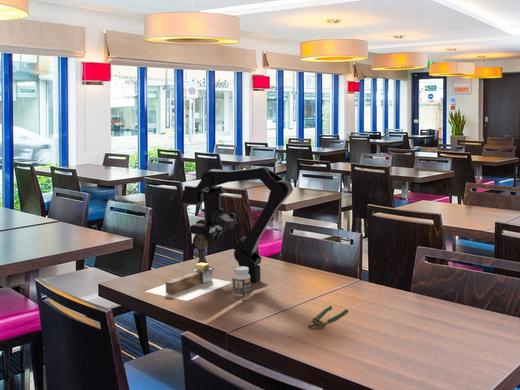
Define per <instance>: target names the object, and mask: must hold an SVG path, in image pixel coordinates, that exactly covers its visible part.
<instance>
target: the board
mask: <svg viewBox="0 0 520 390" xmlns="http://www.w3.org/2000/svg"><path fill="white" fill-rule="evenodd" d="M230 284H233V281H227V280H223V279H222V280H221V279H219V278H218V279H217V278H213V277H212V281H211V282H209V283H206V284H197V285H195V286H192V287H189V288H187V289H184V290H181V291H179V292H176V293H173V294H168V293H166V283H164V284H162V285H159V286H156V287H154V288H151V289H148V290H146V291H144V293H147V294H154V295H158V296H162V297H167V298H171V299H175V300H180V301H184V302H185V301H186V302H188V301H190V300H192V299H195V298H198V297H200V296H202V295H205V294H208V293H211V292H213V291H214V290H217V289H220V288H222V287H224V286H227V285H230Z"/></svg>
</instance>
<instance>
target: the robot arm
mask: <svg viewBox="0 0 520 390" xmlns="http://www.w3.org/2000/svg"><path fill="white" fill-rule="evenodd" d="M200 179H201V180H200V181H199V183H198V184H197V185H184V186H183V191H182V195H181V202H182V205H184V206H185V205H186V206H201V205H202V203H203V208H201V213H203V219H204V220H203V221H202V224H196V223H195V224H191V225H190V226H189V227H188V228H189V234H193V235H196V234H198V235H203V236H204V237H205V239H206V241H207V243H208V246H209V248H210V250H211V251H216V247H217V245H218V241H219V238H220V236H221V234H223V232H225V231H227V230H229V229H233V228H234V227H235V225H236V224H237V223H238V221H237V220H238V217H237V214H236V213H235V212H232V213H230V214H228V213H227V214H226V213H225V210H224V208H222V207H221V195H223V194H225V193H227V190H225V189H224V188H223V186H220V185H223V184H226V183H232V182H233V183H234V182H243V181H244V182H245V181H255V180H260V181H261V182H262V183H263V185H264V186H265V187H266V188H267V189H268V190H269V191H270V192H269V194H268V197H267V202H266V204H265V206H264V208H263V209H262V210H261V213H260V214H259V216H258V218H257V220H256V221H255V223H254V225H253V226H252V228H251V230H250V231H249V233H248V235H247V236H245V235H244V236H242V237H241V238H240V239H239V240H238V242H237V245H236V246H235V247H234V248H233V250H234V252H233V258H234V259H235V261H236V262H237V263H238V266H245V267H248V268H249V272H248V274H249V275H250V277H251V284H257V283H259V282H261V265H260V264H261V262H262V259H263V258H262V256H261V255H260V254H259V253H258V252H257V250H258V247H259V246H258V245H259V242H260V239H261V238H262V236H263V234H264V233H265V231H266V229H267V228H268V226H269V224H270V222H271V221H272V219H273V218H274V215H275V214H276V212H277V210H278V209H279V208H280V206H281V205H282V204H283V203H284V202H285V201H286V200H287V198H288V197H290V195H292V193H293V189H294V187H293V185H292V183H291V182H290V180H288V179H284V178H282V177H281V175H278V174H277V173H275V172H273V171H272V170H271V169H269V168H268V166H261V167H254V168H245V169H238V170H237V169H235V170H226V169H219V168H217V169H216V168H212V169H210V170H206V171H204V172H203V173H202V175H201V177H200ZM216 186H218V187H217V188H216ZM208 188H209V189H208ZM206 189H208V190H206Z"/></svg>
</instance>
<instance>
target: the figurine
mask: <svg viewBox="0 0 520 390" xmlns="http://www.w3.org/2000/svg"><path fill="white" fill-rule="evenodd" d="M203 220H204V218H202V219H199V220H197V221H196V223H195V224H202V221H203ZM192 245H193V247H194V248H195V249H197V250H198V262H197V264H198V263H207V264H209V263H208V261H207V259H206V248H207V246H209V244H208V243H207V241H206V239H205V237H204V236H203V235H198V234H194V236H193V238H192Z"/></svg>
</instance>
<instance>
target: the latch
mask: <svg viewBox="0 0 520 390" xmlns="http://www.w3.org/2000/svg"><path fill="white" fill-rule="evenodd" d="M209 268H210V263H198V262H197V263H195V269H196V270H201V271H205V270H208V269H209Z"/></svg>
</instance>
